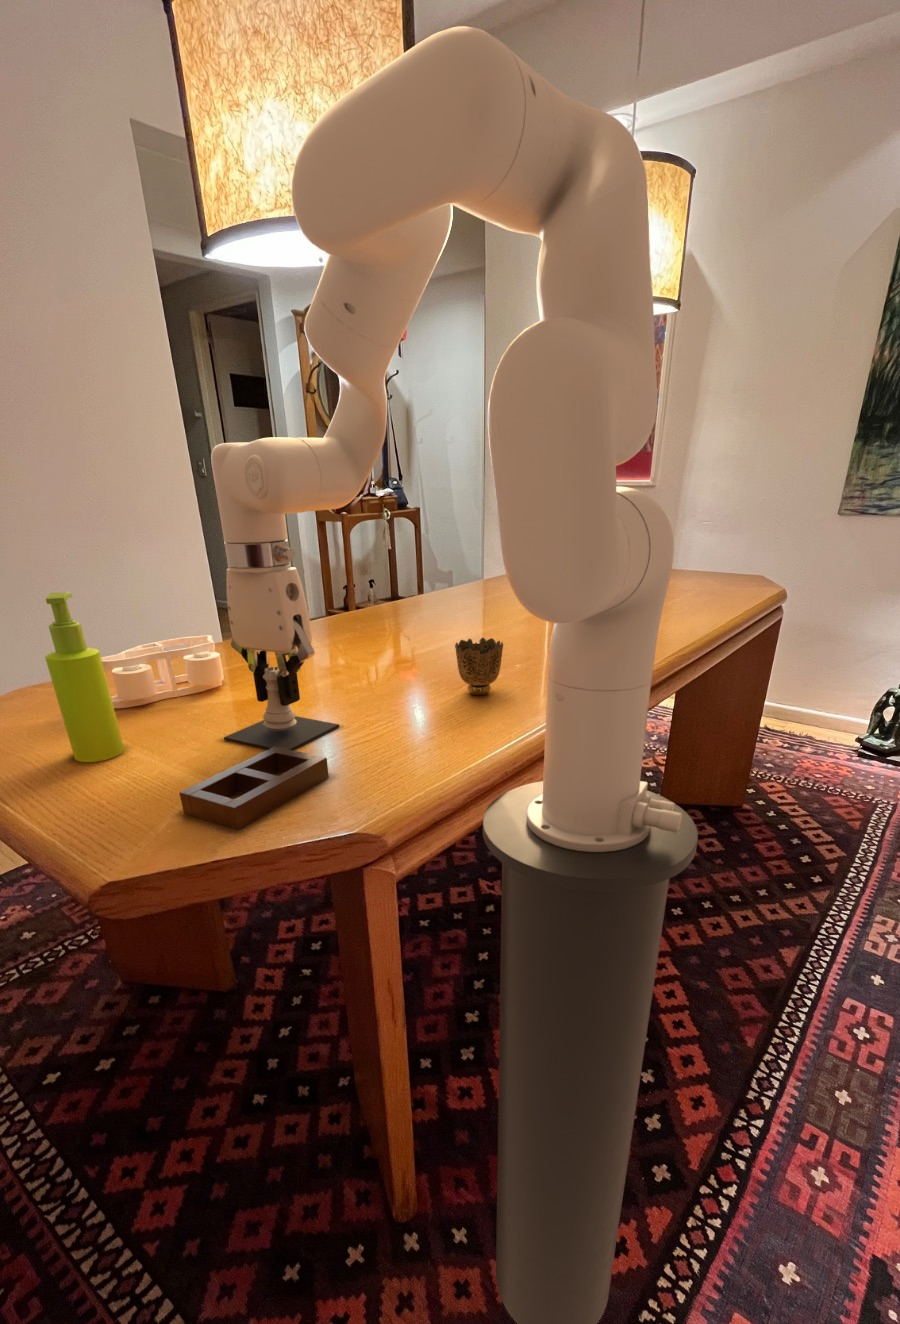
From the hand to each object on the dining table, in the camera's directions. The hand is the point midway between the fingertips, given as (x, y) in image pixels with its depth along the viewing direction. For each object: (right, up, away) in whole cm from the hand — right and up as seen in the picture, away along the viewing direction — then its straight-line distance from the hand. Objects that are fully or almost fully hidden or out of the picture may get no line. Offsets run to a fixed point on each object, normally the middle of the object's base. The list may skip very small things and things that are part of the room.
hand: (278, 699), depth 90 cm
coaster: (0, -4, +2) cm, 5 cm away
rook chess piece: (0, -4, +2) cm, 4 cm away
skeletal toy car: (-23, +4, +20) cm, 31 cm away
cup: (+28, +3, +17) cm, 33 cm away
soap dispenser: (-23, -7, -3) cm, 24 cm away
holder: (+2, -13, -15) cm, 20 cm away
